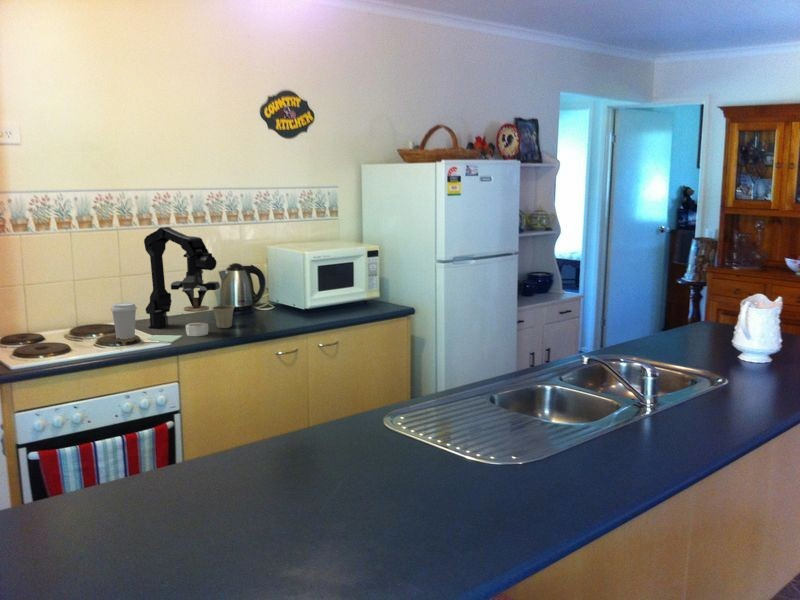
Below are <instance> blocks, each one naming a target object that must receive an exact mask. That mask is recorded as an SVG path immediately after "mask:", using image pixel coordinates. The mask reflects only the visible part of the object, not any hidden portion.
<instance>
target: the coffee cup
mask: <svg viewBox="0 0 800 600" xmlns="http://www.w3.org/2000/svg"><path fill="white" fill-rule="evenodd" d="M137 309H138V307H137V306H136V304H135V303H134V302H129V301H128V302H127V301H126V302H116V303H113V304H112V306H111V309H110V311H111V312H112V319H113V323H114V330H115V337H116V339H117V338H120V339H128V338H132V337H135V338H136V315H137V313H136V310H137Z"/></svg>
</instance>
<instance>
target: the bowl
mask: <svg viewBox="0 0 800 600" xmlns="http://www.w3.org/2000/svg"><path fill="white" fill-rule="evenodd" d="M185 333H186V336H188V337H203V336H207V335H208V334H209V324H208V323H205V322H192V323H187V324H186V325H185Z"/></svg>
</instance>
